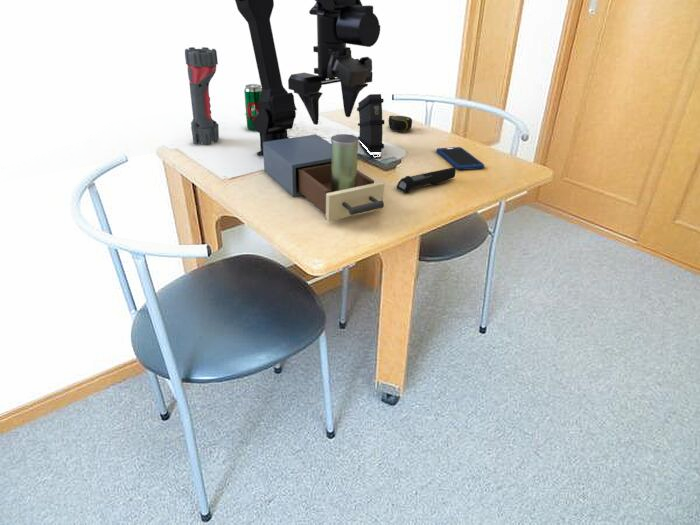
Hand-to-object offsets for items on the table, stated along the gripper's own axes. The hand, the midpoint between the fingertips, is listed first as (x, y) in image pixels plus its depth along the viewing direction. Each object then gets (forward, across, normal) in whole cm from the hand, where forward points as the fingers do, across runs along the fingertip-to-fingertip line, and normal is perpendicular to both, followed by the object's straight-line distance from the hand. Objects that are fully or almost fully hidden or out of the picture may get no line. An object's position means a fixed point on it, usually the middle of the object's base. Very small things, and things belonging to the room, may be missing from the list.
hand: (332, 120), depth 104 cm
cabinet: (+13, -5, +4) cm, 15 cm away
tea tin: (+12, -8, -12) cm, 19 cm away
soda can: (+12, +7, +41) cm, 43 cm away
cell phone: (+14, +34, -11) cm, 38 cm away
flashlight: (+12, -8, +40) cm, 43 cm away
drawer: (+13, -8, -13) cm, 20 cm away
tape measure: (+13, +40, +16) cm, 45 cm away
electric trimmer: (+14, +14, -16) cm, 26 cm away
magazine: (+13, +21, +9) cm, 26 cm away
